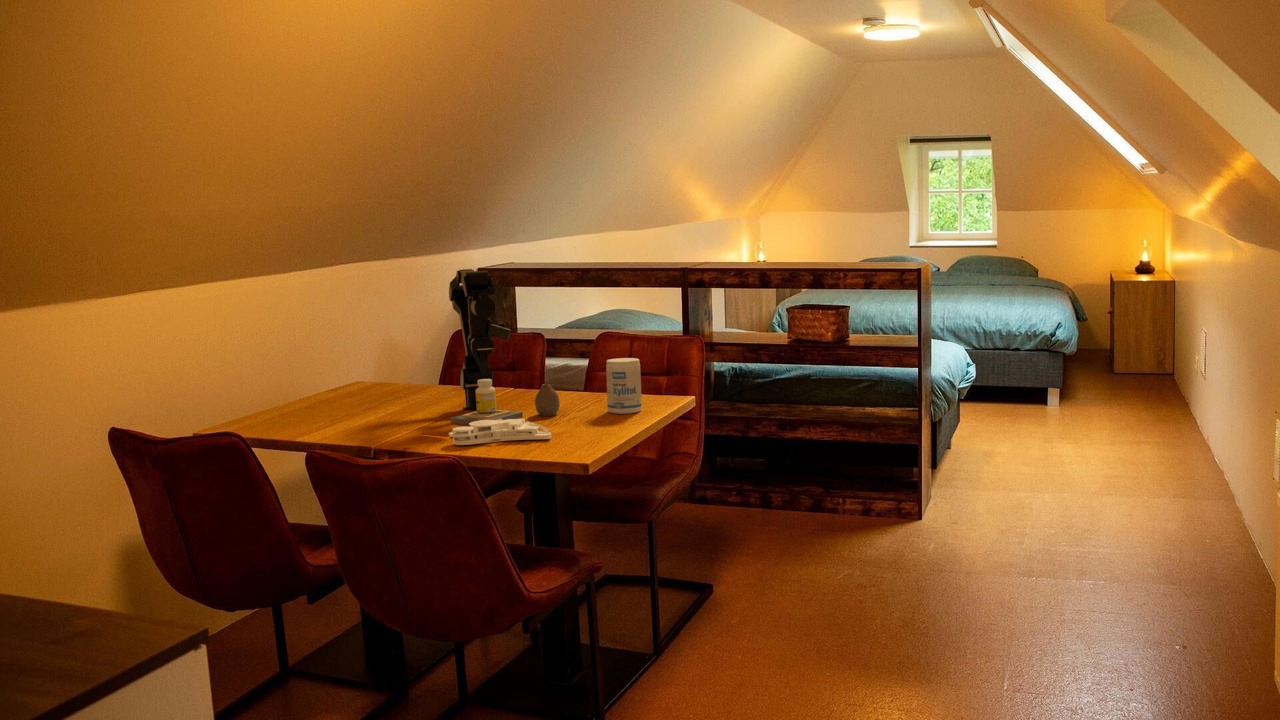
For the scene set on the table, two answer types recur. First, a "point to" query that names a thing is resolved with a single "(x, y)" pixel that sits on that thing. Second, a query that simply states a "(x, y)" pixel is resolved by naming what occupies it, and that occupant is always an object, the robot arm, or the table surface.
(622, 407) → the supplement tub
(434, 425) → the table surface
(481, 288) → the robot arm
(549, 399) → the vase
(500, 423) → the molded plastic bracket
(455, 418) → the grey square frame tile
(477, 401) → the supplement bottle
